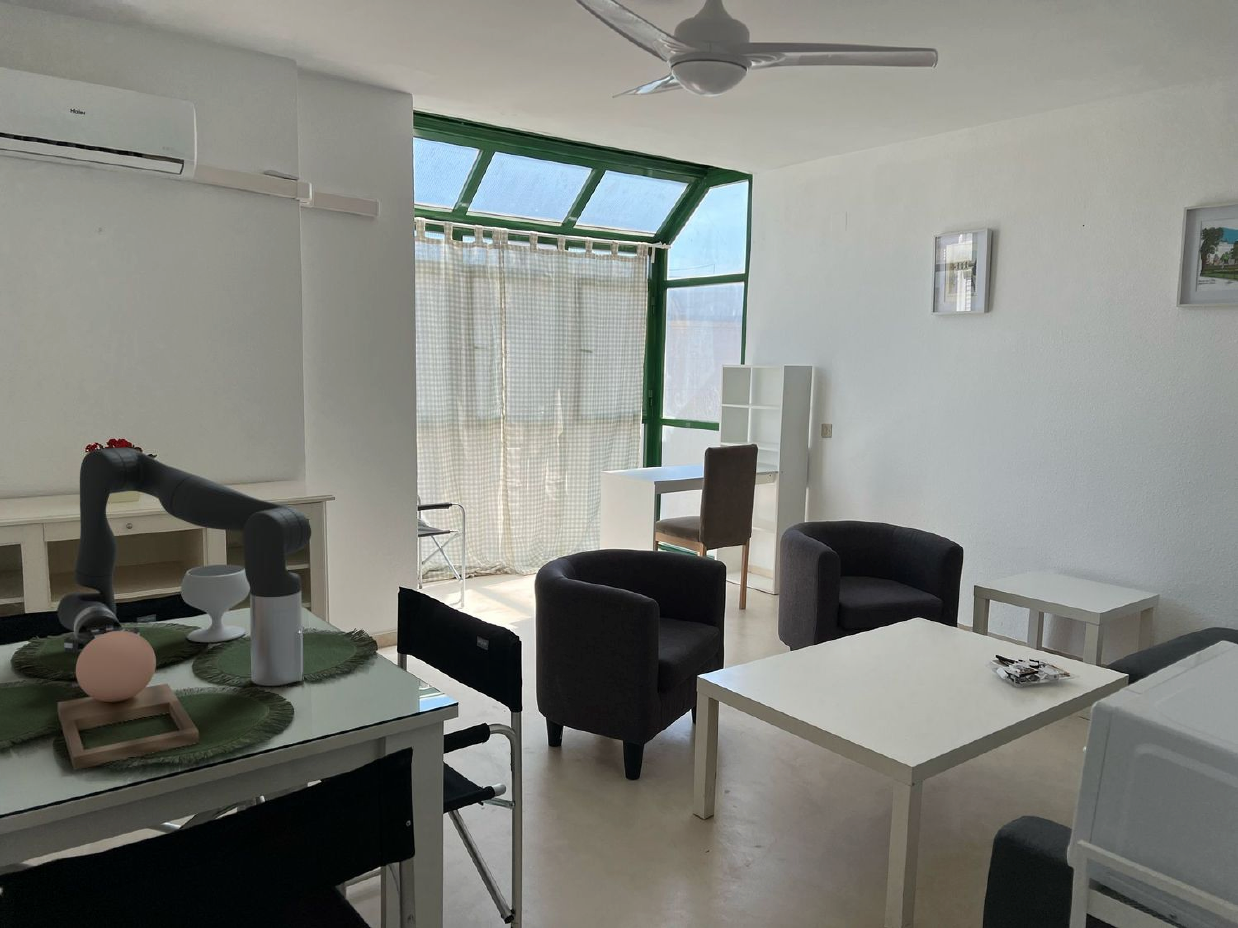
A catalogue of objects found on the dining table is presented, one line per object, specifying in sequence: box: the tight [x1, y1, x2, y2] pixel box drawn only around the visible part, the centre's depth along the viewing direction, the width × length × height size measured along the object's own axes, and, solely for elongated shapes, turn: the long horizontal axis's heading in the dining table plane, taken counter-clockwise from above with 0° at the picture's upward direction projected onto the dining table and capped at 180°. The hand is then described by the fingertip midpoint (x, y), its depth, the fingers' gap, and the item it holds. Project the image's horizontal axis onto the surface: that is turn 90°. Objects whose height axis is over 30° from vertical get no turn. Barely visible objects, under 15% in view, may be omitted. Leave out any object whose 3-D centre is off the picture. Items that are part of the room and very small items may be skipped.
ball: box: [75, 631, 157, 702], centre depth 150 cm, size 12×12×12 cm
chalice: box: [180, 564, 250, 643], centre depth 194 cm, size 14×14×15 cm
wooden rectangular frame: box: [57, 683, 200, 771], centre depth 143 cm, size 17×26×2 cm, turn 37°
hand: (109, 651), depth 157 cm, fingers closed
